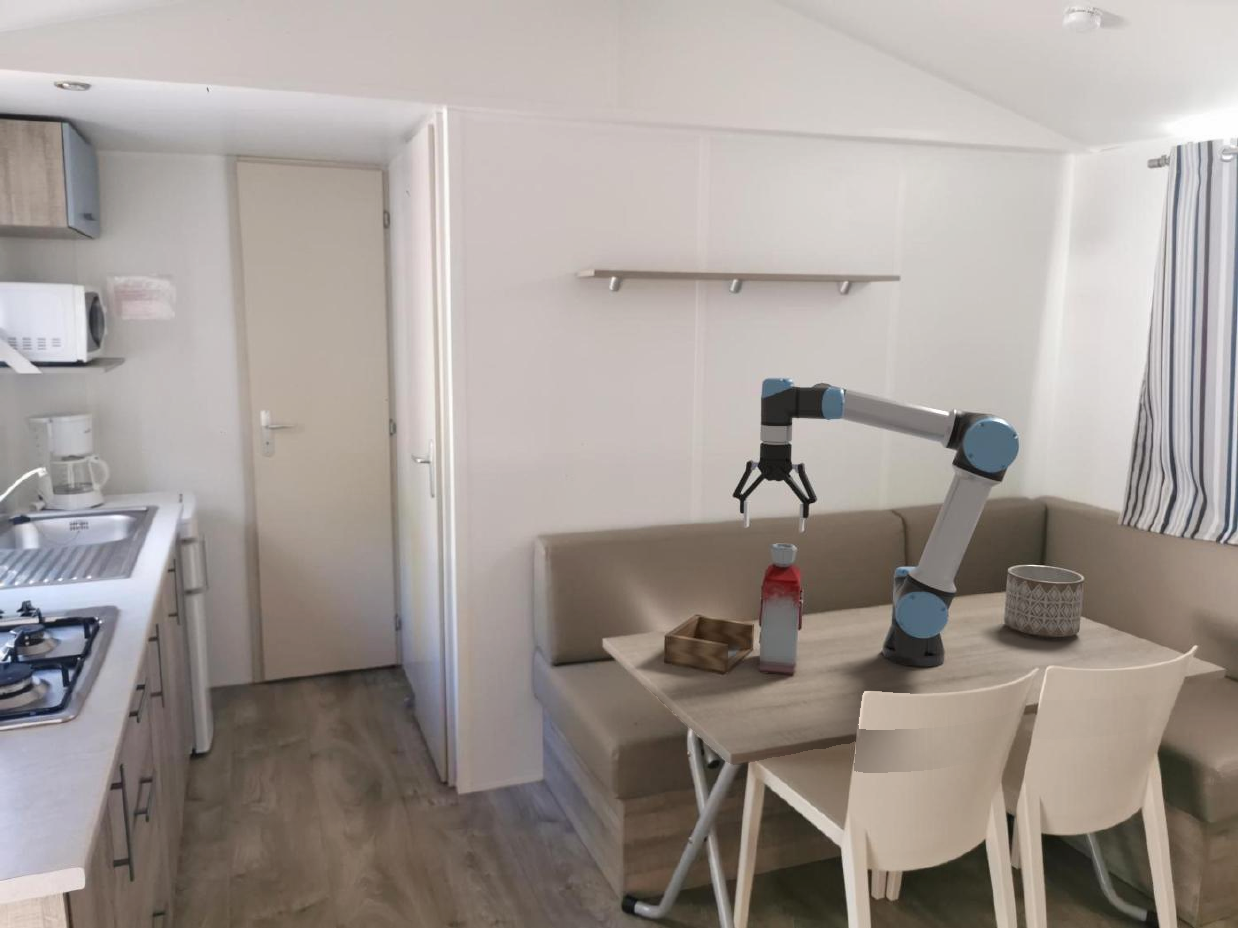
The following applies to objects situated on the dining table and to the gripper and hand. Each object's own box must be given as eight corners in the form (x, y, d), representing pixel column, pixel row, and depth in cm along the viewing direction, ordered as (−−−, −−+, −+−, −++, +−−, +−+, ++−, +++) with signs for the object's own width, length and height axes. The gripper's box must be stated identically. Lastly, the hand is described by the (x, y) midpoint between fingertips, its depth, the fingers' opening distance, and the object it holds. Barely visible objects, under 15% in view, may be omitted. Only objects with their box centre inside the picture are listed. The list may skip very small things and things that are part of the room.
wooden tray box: (753, 650, 253) (754, 623, 252) (725, 674, 236) (726, 646, 235) (695, 639, 261) (696, 614, 260) (663, 662, 243) (664, 635, 242)
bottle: (799, 676, 235) (805, 553, 231) (755, 672, 237) (760, 550, 233) (800, 656, 249) (806, 540, 245) (759, 653, 251) (764, 537, 247)
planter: (1083, 628, 277) (1089, 571, 275) (1073, 647, 261) (1078, 586, 259) (1011, 616, 287) (1015, 561, 285) (996, 633, 271) (1001, 575, 269)
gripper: (830, 443, 237) (827, 529, 240) (729, 438, 246) (727, 522, 249) (825, 446, 230) (822, 536, 234) (721, 441, 239) (719, 527, 242)
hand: (773, 529), depth 241 cm, fingers open, 13 cm apart
